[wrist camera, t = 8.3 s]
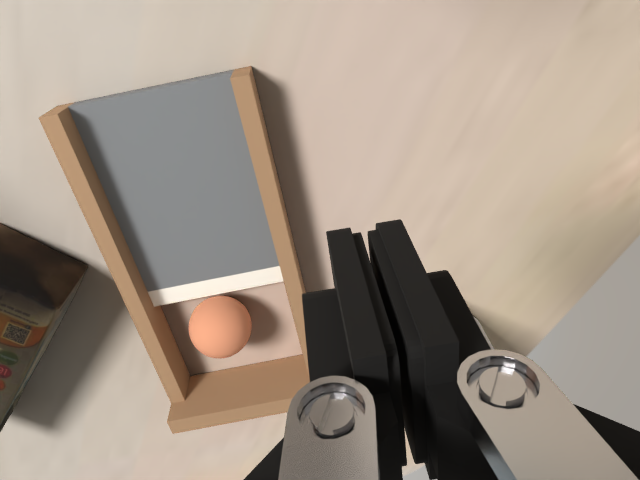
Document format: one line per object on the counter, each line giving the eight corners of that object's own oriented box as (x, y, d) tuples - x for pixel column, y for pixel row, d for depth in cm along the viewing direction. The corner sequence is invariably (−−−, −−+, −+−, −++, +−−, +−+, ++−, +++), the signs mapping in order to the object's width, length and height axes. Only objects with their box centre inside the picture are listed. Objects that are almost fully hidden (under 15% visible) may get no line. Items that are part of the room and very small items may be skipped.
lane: (57, 106, 34) (24, 126, 29) (251, 66, 33) (247, 81, 29) (182, 390, 47) (172, 433, 42) (322, 363, 47) (327, 404, 42)
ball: (201, 322, 44) (179, 292, 40) (256, 309, 44) (239, 277, 40) (202, 374, 41) (177, 347, 37) (261, 360, 41) (243, 331, 37)
